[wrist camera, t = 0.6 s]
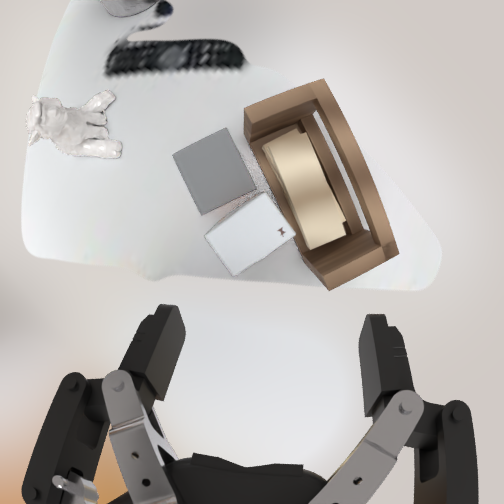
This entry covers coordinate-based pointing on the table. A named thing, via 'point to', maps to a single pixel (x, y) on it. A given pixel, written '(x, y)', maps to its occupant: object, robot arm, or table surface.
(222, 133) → the grey mat
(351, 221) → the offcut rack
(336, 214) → the offcut stack
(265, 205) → the skincare box
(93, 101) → the sitting furry creature
